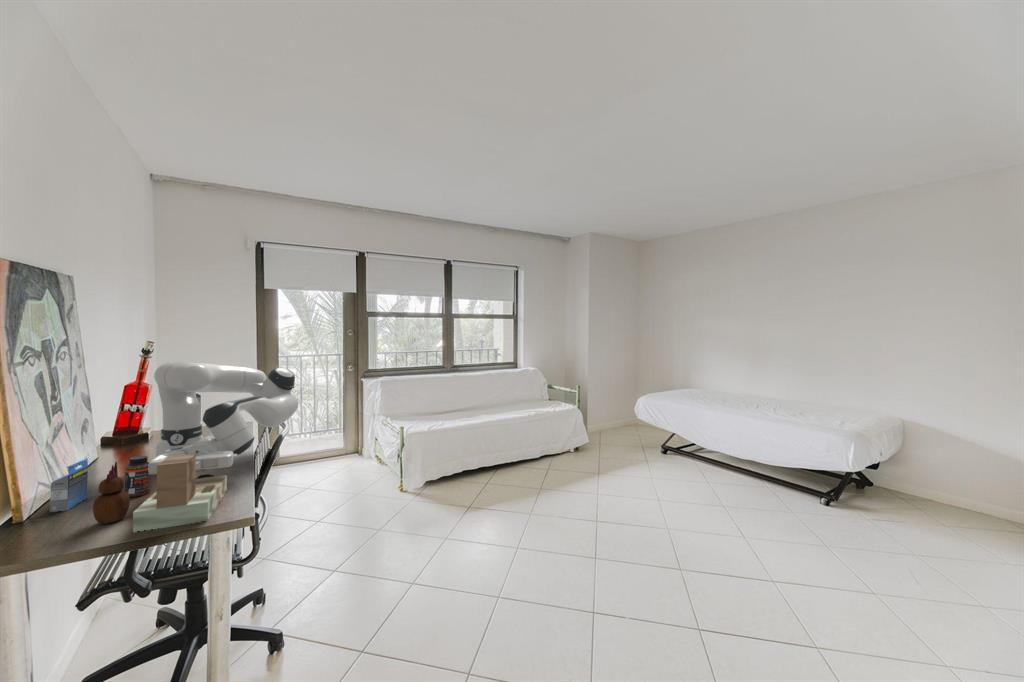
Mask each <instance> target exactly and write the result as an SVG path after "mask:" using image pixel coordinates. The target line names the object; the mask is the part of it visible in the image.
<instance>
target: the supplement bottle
mask: <svg viewBox="0 0 1024 682" xmlns="http://www.w3.org/2000/svg"><path fill="white" fill-rule="evenodd" d="M149 462H150V461H149ZM149 462H148V456H147V455H138V456H137V455H136V456H132V457H130V458H129V464H127V465H126V466H125V469H124V491H126V492H127V493H128V495H129V498H135V497H142V496H145V495H147V494H149V493H151V491H152V475H151V474H149V473H148V465H149Z"/></svg>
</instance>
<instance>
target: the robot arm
mask: <svg viewBox="0 0 1024 682" xmlns="http://www.w3.org/2000/svg"><path fill="white" fill-rule="evenodd" d="M153 377H154V380H155V382H156V385H157V388H158V393H159V397H160V402H161V406H162V407H161V408H162V429H160V439H161V441H160V442H159V443H157V444H156V445H155V451H154V452H155V453H154V458H153V459H151V460H150V461H149V465H148V473H149V474H151V476H152V475H157V465H158V464H159V463H160V462H162V461H163V460H164V459H166V458H167V457H171V456H181V455H192V454H196V473H197V474H198V473H201V472H202V473H203V472H205V471H207V470H215V469H223V468H230V467H232V466H233V465H234V459H237V457H238V456H239V455H241V454H242V453H245V451H247V450H248V449H250V447H251V446H252V444H253V443H254V441H255V435H254V433H253V432H252V430H251V428H250V426H249V425H248V424H247V422H246V420H245V418H243V415H242V413H241V412H243V411H245V412H247V413H248V414H249V415H250V416H251V417H252V418H253V419H254V421H255V422H256V423H258V424H259V425H261V426H262V427H265V428H274V427H275V428H276V427H278V426H280V425H281V424H283V423H286V422H287V420H289V419H290V418H291V417H292V416H293V415H294V414H295V413H296V412H297V410H298V408H299V401H298V398H297V397H296V396H295V395H293V394H292V393H291V392H292V390H293V389H295V382H296V381H295V380H296V376H295V374H294V372H293V371H291V370H290V369H288V368H284V367H275V368H273V369H271V370H270V372H269V373H268V374H267V375H266V373H265V372H264V371H262V370H260V369H256V368H252V367H245V366H240V365H239V366H237V365H225V364H214V363H201V362H192V361H178V360H177V361H168V362H166V363H164V364H161V365H160V366H158V368H156V369H155V371H154V375H153ZM196 393H234V394H236V393H237V394H240V393H244V394H251V395H252V396H249V397H244V398H239V399H236V400H228V401H221V402H217V403H215V404H213V405H211V406H209V407H208V408H207V409H205V410H204V413H203V417H202V416H201V414H202V413H201V408H202V407H201V404H200V401H199V400H198V397H197V394H196ZM201 417H202V420H201ZM201 421H202V422H203V424H204V425H205V426H206V427H207V428H208V429H209V430H210V432H211V433H212V435H208V436H205V437H204V436H203V424H202V423H201Z"/></svg>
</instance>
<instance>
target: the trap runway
mask: <svg viewBox="0 0 1024 682" xmlns="http://www.w3.org/2000/svg"><path fill="white" fill-rule="evenodd" d="M226 491H227V492H228V475H227V474H224V475H217V476H215V475H214V477H205V478H197V477H196V489H195V495H194V496H193V498H192V499H191V500H190V501H189V503H188V504H187V505H182V506H175V507H167V508H160V509H157V490H156V491H155V492H154V493H153V494H151V495H150V496H149V497H148V498H147V499H145V500H144V502H143V503H142V504H140V505H139V506H138V507H137V508H136V509H134V511H133V512H132V533H138V532H137V531H140V532H145V531H144V530H146V531H152V530H151V529H153V530H159V529H165V528H166V529H167V528H171V527H177V526H178V527H179V526H184V525H191V523H192V524H196V522H198V523H202V522H201V521H205V522H208V521H209V520H210V519H211V517H212V515H213V514H214V513H215V511H214V510H216V509H217V508H218V506H219V504H220V503H221V501H222V499H223V498H224V496H225V495H226V494H227V492H226ZM222 497H223V498H222ZM219 502H220V503H219ZM212 513H213V514H212ZM210 516H211V517H210ZM208 519H209V520H208ZM207 520H208V521H207ZM158 528H159V529H158Z"/></svg>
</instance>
